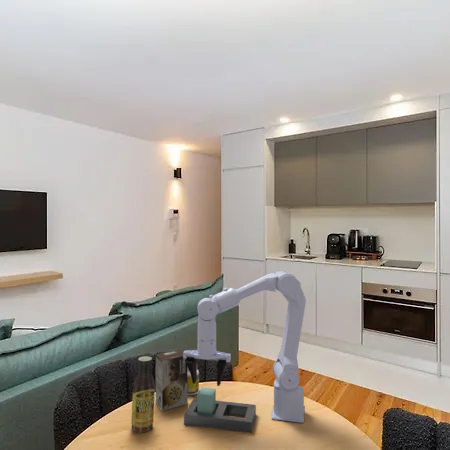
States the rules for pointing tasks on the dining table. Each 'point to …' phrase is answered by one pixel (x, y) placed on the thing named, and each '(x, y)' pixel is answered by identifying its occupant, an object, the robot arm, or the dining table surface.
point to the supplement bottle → (192, 387)
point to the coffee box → (171, 380)
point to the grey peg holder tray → (223, 416)
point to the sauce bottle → (143, 397)
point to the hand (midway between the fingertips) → (206, 383)
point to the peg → (206, 401)
